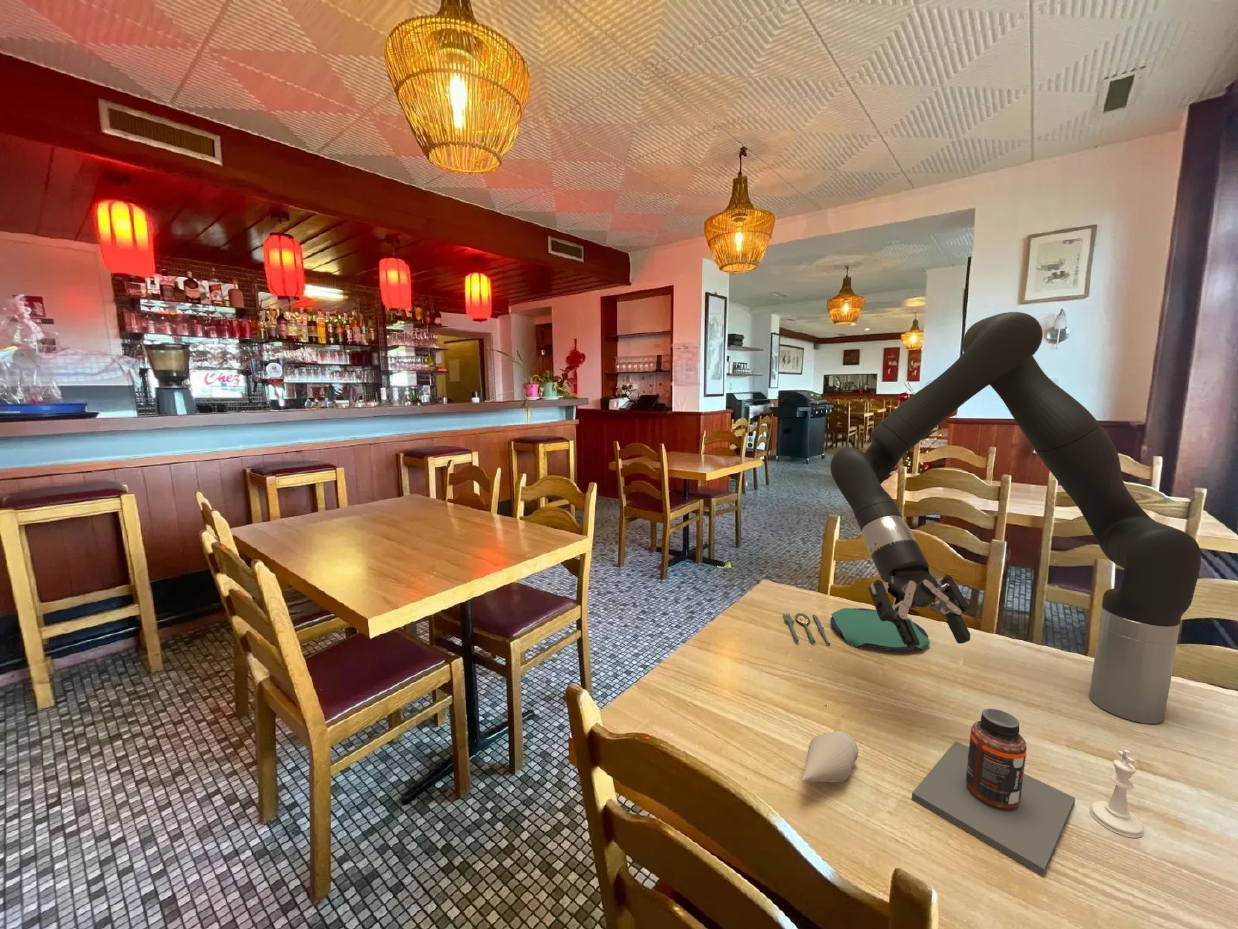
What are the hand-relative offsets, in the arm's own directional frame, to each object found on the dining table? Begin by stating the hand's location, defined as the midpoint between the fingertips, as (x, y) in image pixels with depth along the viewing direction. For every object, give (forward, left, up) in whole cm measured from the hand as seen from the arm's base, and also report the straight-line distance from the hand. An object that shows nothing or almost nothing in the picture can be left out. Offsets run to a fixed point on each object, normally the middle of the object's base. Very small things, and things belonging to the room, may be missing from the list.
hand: (939, 644), depth 75 cm
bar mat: (+5, +10, -17) cm, 20 cm away
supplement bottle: (+5, +9, -16) cm, 19 cm away
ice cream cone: (+20, -6, -17) cm, 27 cm away
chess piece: (-3, +20, -17) cm, 27 cm away
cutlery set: (-27, -26, -18) cm, 41 cm away
